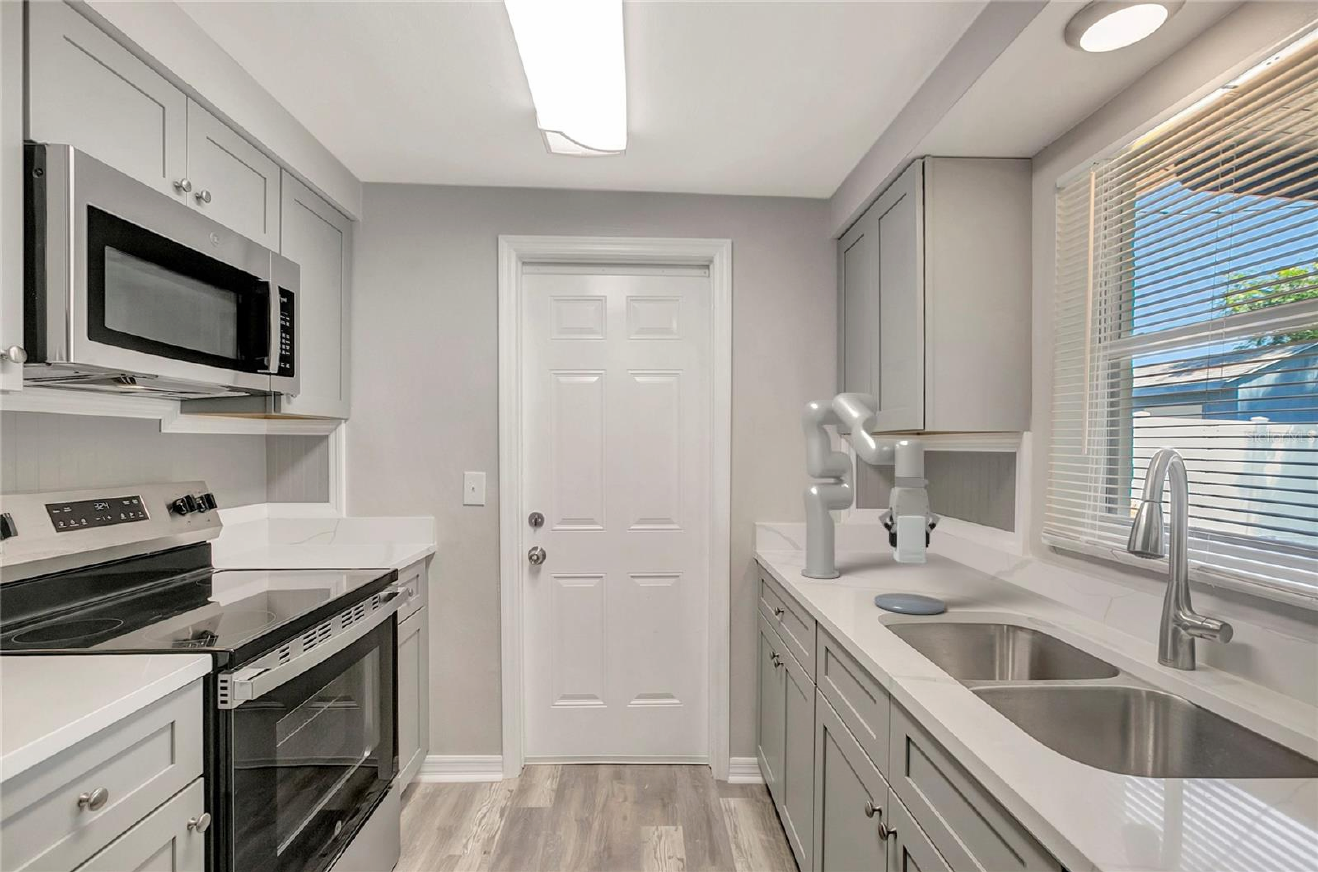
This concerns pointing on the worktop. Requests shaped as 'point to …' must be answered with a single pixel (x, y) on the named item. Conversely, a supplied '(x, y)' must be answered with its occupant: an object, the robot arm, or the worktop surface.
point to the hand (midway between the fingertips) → (909, 546)
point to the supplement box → (911, 540)
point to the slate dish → (909, 603)
